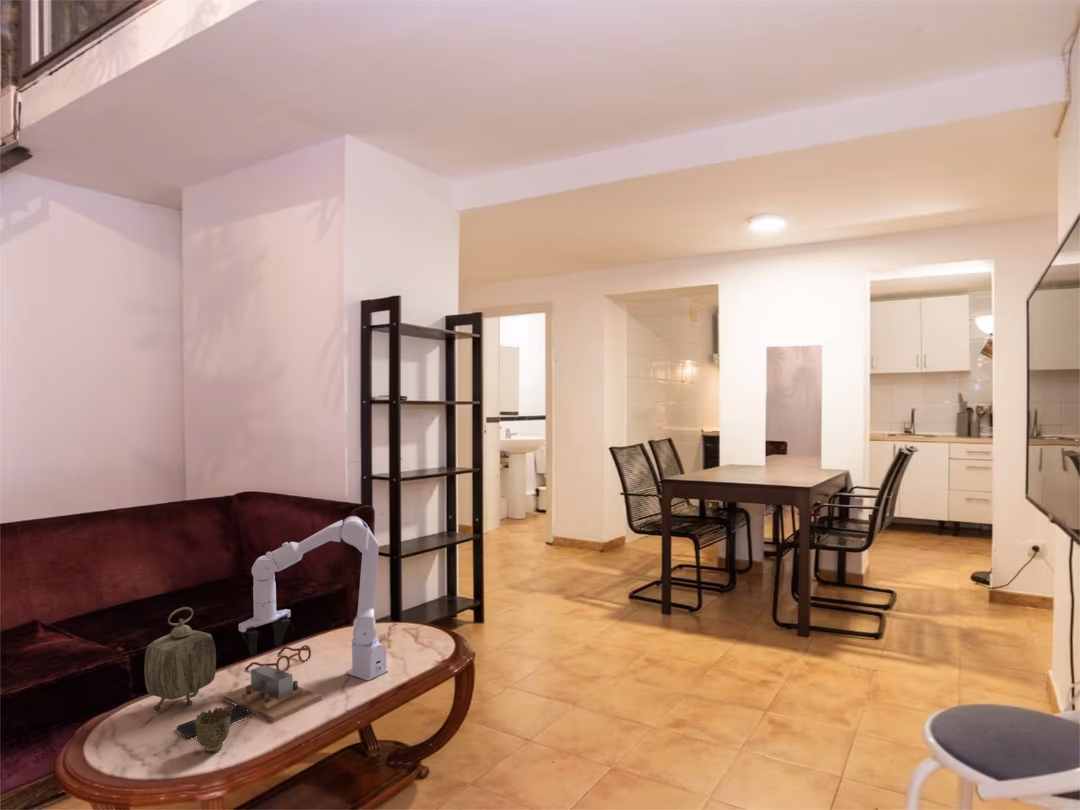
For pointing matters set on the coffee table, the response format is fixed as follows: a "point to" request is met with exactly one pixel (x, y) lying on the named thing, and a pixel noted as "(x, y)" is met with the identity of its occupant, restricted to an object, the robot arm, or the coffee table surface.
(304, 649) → the glasses
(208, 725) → the cup
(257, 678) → the metal bar
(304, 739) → the coffee table surface
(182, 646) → the tabletop clock
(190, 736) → the phone
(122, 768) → the coffee table surface
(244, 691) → the peg rack
